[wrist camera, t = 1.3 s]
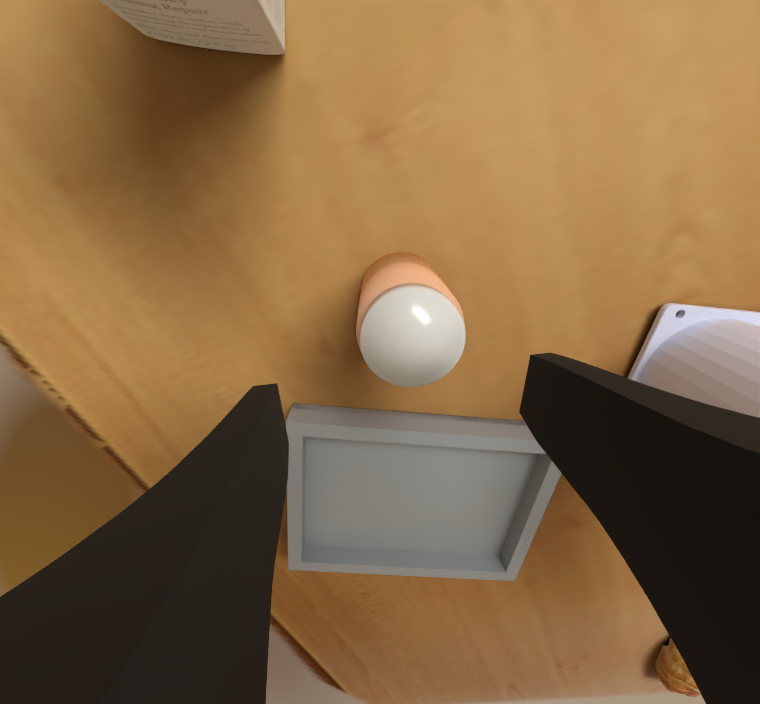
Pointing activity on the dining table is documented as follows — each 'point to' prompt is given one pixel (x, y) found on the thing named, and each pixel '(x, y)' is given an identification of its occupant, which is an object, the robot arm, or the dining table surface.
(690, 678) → the pastry
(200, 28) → the skincare box
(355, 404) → the dining table surface
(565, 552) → the dining table surface
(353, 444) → the tray
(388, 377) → the shaker
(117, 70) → the dining table surface
